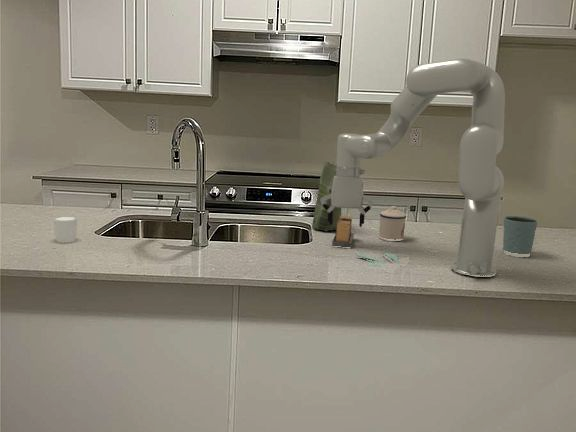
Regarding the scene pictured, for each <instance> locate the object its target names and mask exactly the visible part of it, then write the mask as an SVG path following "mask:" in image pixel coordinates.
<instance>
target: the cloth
mask: <svg viewBox="0 0 576 432" xmlns="http://www.w3.org/2000/svg"><path fill="white" fill-rule="evenodd" d="M383 255H385V256H387V257H388V258H390V259H391V260H392V261H394V262H396V263H398V264H399V263H400V261H399V259H400V258H399V257H398V258H396V255H397V254H395V253H394V254H391V253H387V252H384V253H383V254H382V256H383ZM356 256H358V257H362V258H365V259H368V260H372V261H377V263H382V264H386V263H387V262H385V261H382V260H379V259H377V258H375V257H372V256H371V255H367V254H365V253H364V254H363V253H357V254H355V257H356ZM376 259H377V260H376ZM365 264H366V265H369V266H372V267H373V266H374V267H381V266H380V265H377V264H375V263H374V262H373V263H372V262H368V263H365Z"/></svg>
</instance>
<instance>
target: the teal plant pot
mask: <svg viewBox="0 0 576 432" xmlns="http://www.w3.org/2000/svg"><path fill="white" fill-rule="evenodd" d="M537 225H538V220H537V219H535V218H532V217H527V216H520V215H519V216H517V215H508V216H504V217H503V237H502V238H503V243H502V244H503V247H502V251H503V250H505V251H508V252H511V253H518V254H529V253H531V254H532V251H533V245H534V240H535V235H536V230H537Z"/></svg>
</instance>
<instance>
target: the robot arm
mask: <svg viewBox="0 0 576 432" xmlns="http://www.w3.org/2000/svg"><path fill="white" fill-rule="evenodd" d="M405 85H406V86H405V87H404V88H403V89H402V90H401V92H400V93H399V94H398V95H397V96H396V97H395V98H394V99H393V100H392V101H391V104H390V114H389V117H388V119H387V120H386V121H385V123H384V124H383V125H382V126H381V128H379V130H378V131H377V132H376V133H370V134H369V133H368V134H358V133H341V134H339V135H338V136H337V145H336V146H337V150H336V165H337V170H336V176H334V179H333V185H332V193H331V194H329V195H326V196H324V197H322V198H321V199H320V201H321V203H322V205H323V207H324V208H325V209H326V210H327V212H328V222H330V225H332V223H333V211H332V210H333V209H334V208H335V207H338V208H341V209H342V208H343V209H358V211H359V212H360V213H359V224H358V225H359V227H361V228H362V226H363V224H364V225H365V215H366V213H368V212H369V211H370V210H371V208H372V207H373V205H374V203H375V201H374V199H371V198H370V197H368V196H366V195H364V181H363V177H362V176H361V175H364V174H365V169H362V168H361V159H365V160H372V159H375V158H376V159H377V158H382V157H385V156H387V155H388V154H389V153H390V152H391V151H393V149H394V148H395V147H396V146H397V145H398V144H399V143H400V142H401V140H402V139H404V137H405V136H406V135H407V132H408V131H409V129H410V128H411V126H412V124H413V122H414V121H415V120H416V119H417V118H418V117H419V115H420V114H421V113H422V112H423V111H424V110H426V108H427V107H428V106H429V105H430V103H432V102H433V100H434V99H435V98H436V97H437V96H438V95H440V94H448V93H458V92H459V93H460V92H461V93H462V92H463V93H469V94H471V95H472V98H473V101H472V107H471V125H470V127H469V128H467V129H466V130H465V132H464V133H463V135H462V136H461V138H460V139H461V140H460V144H459V153H458V154H459V155H458V156H459V157H458V177H457V180H458V189H459V190H460V192H461V194H462V195H463V196H464V197H465V198H464V202H463V203H464V205H463V210H462V211H463V212H462V217H461V218H462V219H461V225H460V234H459V241H458V242H459V243H458V244H459V245H458V251H457V252H458V253H457V258H456V262H453V263H452V264H450V269H451V268H452V269H453V270H455V271H458V272H461V273H465V274H470V275H480V276H483V275H484V276H485V275H486V276H487V275H493V274H495V273H496V274H497V270H496V269H495V268H494V267H492V266H493V265H492V264H493V257H494V249H495V244H496V243H495V241H496V235H497V234H496V233H497V227H498V221H499V220H498V219H499V213H500V206H501V201H502V196H503V193H504V192H503V191H504V186H505V178H504V174H503V171H502V170H501V169H500V168H499V167H498V166H497V155H498V154H500V153H501V151H502V149H503V147H504V141H505V140H504V139H505V138H504V131H505V107H506V104H505V103H506V93H505V86H504V85H505V84H504V82H503V80H502V78H501V76H500V75H499V73H498V72H497V71H496V70H494V69H493V68H491V67H490V66H488V65H486V64H484V63H481V62H479V61H477V60H473V59H469V58H458V59H450V60H449V59H448V60H443V61H437V62H436V61H435V62H428V63H427V62H426V63H421V64H418V65H415V66H414V67H412V68H411V69H410V70H409V71H408V73H407V75H406V79H405ZM329 198H331V206H330V207H329V206H328V205H327V204H326V201H325V200H327V199H329ZM364 201H365V202H366V203H368V204H367V206H365V207H363V205H364V203H363V202H364Z"/></svg>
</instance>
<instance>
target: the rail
mask: <svg viewBox="0 0 576 432" xmlns="http://www.w3.org/2000/svg"><path fill="white" fill-rule="evenodd" d="M339 220H340V221H350V234H349V242H342V241H336V234H337V231H336V233H335V235H334V237H333V239H332V241H331V242H332V244H331V247H332V246H341V247H351V248H352V246H353V243H352V241H354V239H353V238H354V236H355V233H354V232H352V222H353V216H348V215H341V216H340V218H339ZM351 245H352V246H351Z"/></svg>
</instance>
